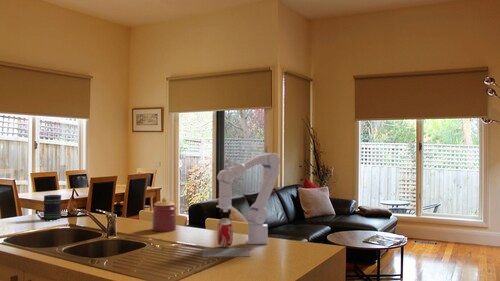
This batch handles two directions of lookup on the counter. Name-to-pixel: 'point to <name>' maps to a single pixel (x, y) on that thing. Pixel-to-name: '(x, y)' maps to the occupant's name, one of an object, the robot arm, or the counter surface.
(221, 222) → the soda can
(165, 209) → the canister
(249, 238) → the robot arm
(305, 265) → the counter surface
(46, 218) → the storage jar
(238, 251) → the mat
